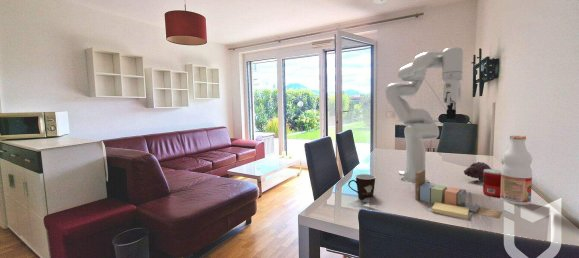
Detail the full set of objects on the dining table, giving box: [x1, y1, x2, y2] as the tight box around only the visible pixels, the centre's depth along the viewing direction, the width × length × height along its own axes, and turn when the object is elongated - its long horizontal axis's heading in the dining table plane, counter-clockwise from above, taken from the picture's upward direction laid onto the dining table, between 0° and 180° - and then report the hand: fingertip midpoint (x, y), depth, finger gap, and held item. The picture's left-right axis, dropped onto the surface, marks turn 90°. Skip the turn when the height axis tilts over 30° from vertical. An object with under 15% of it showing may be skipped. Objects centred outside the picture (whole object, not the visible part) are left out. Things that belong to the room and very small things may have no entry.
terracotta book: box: [445, 186, 462, 206], centre depth 103 cm, size 4×6×6 cm, turn 134°
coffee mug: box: [347, 173, 376, 201], centre depth 118 cm, size 12×9×10 cm
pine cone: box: [463, 161, 492, 182], centre depth 138 cm, size 18×10×10 cm, turn 89°
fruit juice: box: [499, 135, 533, 206], centre depth 105 cm, size 9×9×28 cm
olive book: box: [430, 184, 448, 204], centre depth 107 cm, size 4×6×6 cm, turn 134°
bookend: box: [457, 188, 481, 214], centre depth 99 cm, size 6×7×6 cm
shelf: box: [414, 169, 503, 219], centre depth 102 cm, size 28×8×13 cm, turn 44°
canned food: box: [482, 168, 502, 198], centre depth 117 cm, size 8×8×11 cm
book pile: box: [426, 202, 474, 221], centre depth 97 cm, size 13×9×3 cm
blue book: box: [420, 182, 436, 203], centre depth 110 cm, size 4×6×6 cm, turn 134°
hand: (451, 118), depth 115 cm, fingers closed
